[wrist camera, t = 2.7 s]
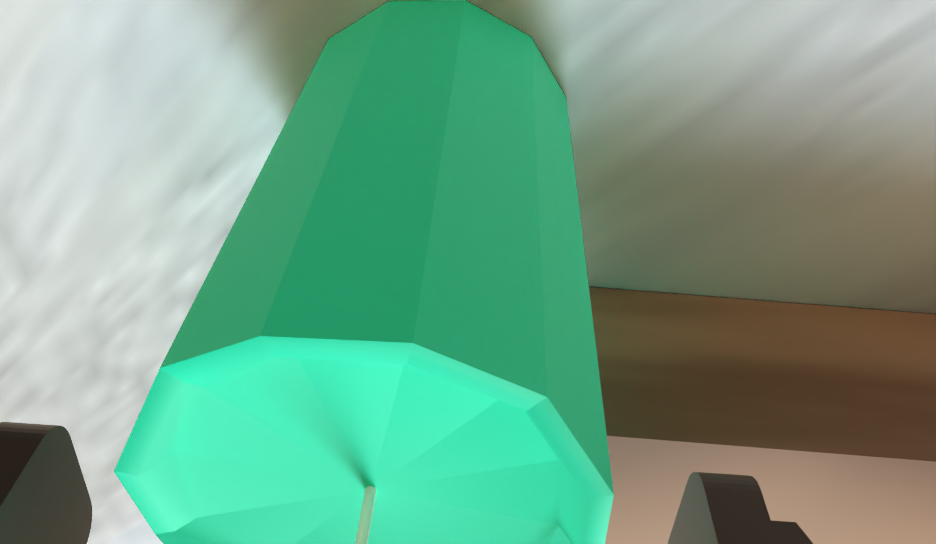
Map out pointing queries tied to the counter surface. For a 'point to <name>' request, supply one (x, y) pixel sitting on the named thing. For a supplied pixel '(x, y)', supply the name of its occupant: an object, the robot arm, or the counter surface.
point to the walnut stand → (769, 412)
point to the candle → (393, 314)
